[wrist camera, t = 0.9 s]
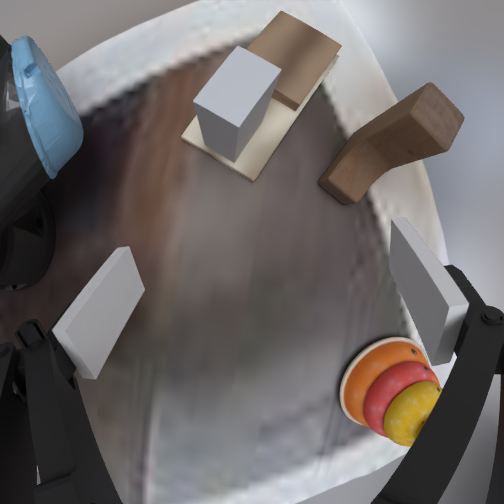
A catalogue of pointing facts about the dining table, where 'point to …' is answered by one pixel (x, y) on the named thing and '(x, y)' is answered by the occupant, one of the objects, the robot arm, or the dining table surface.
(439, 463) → the robot arm
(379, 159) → the wooden block
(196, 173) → the dining table surface
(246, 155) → the base board
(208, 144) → the grey pillar
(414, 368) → the stacking toy
